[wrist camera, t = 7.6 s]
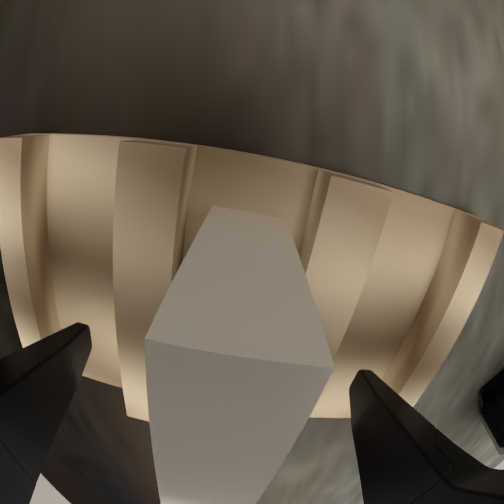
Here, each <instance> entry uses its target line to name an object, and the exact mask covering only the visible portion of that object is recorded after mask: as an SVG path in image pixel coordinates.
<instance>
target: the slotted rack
mask: <svg viewBox="0 0 504 504" xmlns="http://www.w3.org/2000/svg"><path fill="white" fill-rule="evenodd" d="M212 206H218V207H223V208H229V209H235V210H240V211H246V212H251V213H257V214H262V215H267V216H273V217H278V218H283V219H286V220H287V223H288V226H289V228H290V231H291V234H292V237H293V240H294V243H295V245H296V248H297V251H298V254H299V257H300V260H301V263H302V266H303V269H304V272H305V275H306V278H307V281H308V284H309V287H310V290H311V293H312V296H313V299H314V302H315V305H316V308H317V311H318V314H319V318H320V321H321V324H322V327H323V330H324V333H325V337H326V340H327V343H328V346H329V350H330V353H331V356H332V360H333V363H334V366H335V368H334V370H333V372H332V374H331V376H330V378H329V380H328V382H327V384H326V386H325V388H324V390H323V392H322V394H321V396H320V398H319V400H318V402H317V404H316V406H315V407H314V409H313V411H312V413H311V415H310V417H312V418H351V412H350V399H349V387H350V385H351V383H352V381H353V379H354V377H355V376H356V374H357V372H358V371H359V370H361V369H366V370H371V371H373V372H374V373H375V374H376V375H377V376H378V377H379V378H380V379H381V380H383V381H384V382H385V383H386V384H387V385H388V386H389V387H390V388H392V389H393V390H394V391H395V392H396V393H397V394H398V395H399V396H401V397H402V398H403V399H404V400H405V401H406V402H407V403H408V404H410V405H411V406H412V407H413V406H414V405H415V404H416V402H417V401H418V400H419V398H420V397H421V395H422V394H423V392H424V391H425V390H426V388H427V387H428V385H429V384H430V382H431V381H432V379H433V378H434V376H435V375H436V373H437V371H438V370H439V368H440V367H441V365H442V364H443V362H444V360H445V359H446V357H447V355H448V354H449V352H450V350H451V348H452V347H453V345H454V343H455V341H456V340H457V338H458V336H459V334H460V332H461V331H462V329H463V327H464V325H465V323H466V321H467V319H468V317H469V315H470V313H471V311H472V309H473V307H474V305H475V303H476V301H477V299H478V296H479V294H480V292H481V290H482V288H483V285H484V283H485V281H486V278H487V276H488V273H489V271H490V268H491V266H492V263H493V261H494V258H495V256H496V253H497V250H498V247H499V244H500V242H501V239H502V236H503V233H504V231H503V230H501V229H500V228H498V227H496V226H494V225H492V224H490V223H488V222H487V221H485V220H483V219H481V218H479V217H477V216H475V215H473V214H470V213H468V212H465V211H462V210H460V209H457V208H454V207H452V206H449V205H446V204H443V203H440V202H437V201H435V200H432V199H429V198H426V197H423V196H420V195H417V194H413V193H410V192H407V191H404V190H401V189H397V188H394V187H391V186H387V185H384V184H381V183H377V182H374V181H370V180H366V179H363V178H359V177H355V176H352V175H348V174H344V173H340V172H336V171H332V170H328V169H324V168H320V167H315V166H311V165H307V164H302V163H298V162H293V161H288V160H283V159H279V158H274V157H269V156H263V155H258V154H253V153H247V152H241V151H236V150H230V149H223V148H217V147H210V146H204V145H196V144H189V143H181V142H173V141H164V140H155V139H145V138H134V137H122V136H107V135H89V134H56V133H31V134H23V135H15V136H8V137H2V138H0V248H1V255H2V262H3V268H4V274H5V279H6V284H7V289H8V294H9V298H10V303H11V307H12V311H13V315H14V319H15V322H16V326H17V330H18V333H19V336H20V340H21V343H22V346H23V348H24V347H26V346H28V345H31V344H33V343H35V342H37V341H39V340H41V339H43V338H45V337H47V336H49V335H51V334H53V333H56V332H58V331H60V330H62V329H64V328H66V327H68V326H70V325H72V324H74V323H77V322H80V323H83V324H87V325H88V326H89V328H90V333H91V340H92V350H91V353H90V355H89V358H88V361H87V363H86V366H85V369H84V371H83V374H82V376H85V377H88V378H91V379H94V380H97V381H101V382H104V383H107V384H110V385H114V386H117V387H121V388H123V393H124V400H125V406H126V411H127V416H129V417H133V418H137V419H141V420H145V421H149V412H148V400H147V385H146V367H145V336H146V334H147V332H148V330H149V328H150V326H151V324H152V322H153V320H154V317H155V315H156V313H157V311H158V309H159V307H160V305H161V303H162V301H163V299H164V297H165V295H166V293H167V291H168V289H169V287H170V285H171V283H172V281H173V279H174V277H175V275H176V273H177V271H178V269H179V267H180V265H181V264H182V262H183V260H184V258H185V256H186V254H187V252H188V250H189V248H190V246H191V244H192V243H193V241H194V239H195V237H196V235H197V233H198V231H199V230H200V228H201V226H202V224H203V222H204V220H205V219H206V217H207V215H208V213H209V211H210V209H211V208H212Z"/></svg>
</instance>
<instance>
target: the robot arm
mask: <svg viewBox="0 0 504 504" xmlns="http://www.w3.org/2000/svg"><path fill="white" fill-rule="evenodd" d="M91 350H92V340H91V333H90V328H89V326H88V325H87V324H83V323H80V322H77V323H74V324H72V325H70V326H68V327H66V328H64V329H62V330H60V331H58V332H56V333H53V334H51V335H49V336H47V337H45V338H43V339H41V340H39V341H37V342H35V343H33V344H31V345H28V346H26V347H24V348H22V349H20V350H18V351H16V352H14V353H12V354H10V355H8V356H6V357H4V358H2V359H0V504H29V503H30V500H31V497H32V494H33V491H34V489H35V486H36V482H37V480H38V477H39V475H40V472H41V469H42V467H43V464H44V462H45V459H46V457H47V454H48V452H49V449H50V447H51V445H52V442H53V440H54V438H55V435H56V433H57V431H58V428H59V426H60V424H61V422H62V420H63V417H64V415H65V413H66V411H67V409H68V406H69V404H70V402H71V400H72V398H73V396H74V394H75V392H76V390H77V387H78V385H79V382H80V380H81V377H82V374H83V371H84V369H85V366H86V363H87V361H88V358H89V355H90V353H91ZM479 396H480V401H481V405H482V408H481V409H480V412H479V413H480V417H481V421H482V423H483V425H484V427H485V428H486V430H487V432H488V434H489V436H490V437H491V439H492V441H493V443H494V445H495V447H496V449H497V451H498V453H499V454H500V455H503V454H504V371H503V372H502V373H501V374H500V375H499V376H498V377H496V378H495V379H494V380H493V381H492V382H491V383H489V384H488V385H487V386H486V387H484V388H483V389H482V390H481V391H480V393H479ZM349 399H350V412H351V425H352V433H353V439H354V444H355V450H356V456H357V462H358V468H359V474H360V480H361V487H362V494H363V501H364V504H504V470H497V469H492V468H489V467H487V466H485V465H483V464H482V463H481V462H479V461H478V460H476V459H475V458H474V457H472V456H471V455H469V454H468V453H467V452H465V451H464V450H462V449H461V448H460V447H458V446H457V445H456V444H454V443H453V442H452V441H451V440H449V439H448V438H447V437H446V436H445V435H444V434H442V433H441V432H440V431H439V430H438V429H436V428H435V427H434V426H433V425H432V424H431V423H430V422H429V421H428V420H426V419H425V418H424V417H423V416H422V415H421V414H420V413H419V412H417V411H416V410H415V409H414V408H413V407H412V406H411V405H410V404H408V403H407V402H406V401H405V400H404V399H403V398H402V397H401V396H399V395H398V394H397V393H396V392H395V391H394V390H393V389H392V388H390V387H389V386H388V385H387V384H386V383H385V382H384V381H383V380H381V379H380V378H379V377H378V376H377V375H376V374H375V373H374V372H373V371H371V370H366V369H361V370H359V371H358V372H357V374H356V376H355V377H354V379H353V381H352V383H351V385H350V387H349Z"/></svg>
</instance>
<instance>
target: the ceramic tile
mask: <svg viewBox="0 0 504 504" xmlns="http://www.w3.org/2000/svg"><path fill="white" fill-rule="evenodd" d="M145 367H146V385H147V400H148V412H149V423H150V433H151V442H152V450H153V457H154V465H155V472H156V478H157V484H158V490H159V496H160V501H161V504H256V502H257V501H258V500H259V498H260V497H261V495H262V494H263V492H264V491H265V489H266V488H267V486H268V485H269V483H270V482H271V480H272V479H273V477H274V476H275V474H276V473H277V471H278V470H279V468H280V466H281V465H282V463H283V462H284V460H285V458H286V457H287V455H288V453H289V452H290V450H291V448H292V447H293V445H294V443H295V442H296V440H297V438H298V436H299V435H300V433H301V431H302V429H303V428H304V426H305V424H306V422H307V420H308V419H309V417H310V415H311V413H312V411H313V409H314V407H315V406H316V404H317V402H318V400H319V398H320V396H321V394H322V392H323V390H324V388H325V386H326V384H327V382H328V380H329V378H330V376H331V374H332V372H333V370H334V368H335V366H334V363H333V360H332V356H331V353H330V350H329V346H328V343H327V340H326V337H325V333H324V330H323V327H322V324H321V321H320V318H319V314H318V311H317V308H316V305H315V302H314V299H313V296H312V293H311V290H310V287H309V284H308V281H307V278H306V275H305V272H304V269H303V266H302V263H301V260H300V257H299V254H298V251H297V248H296V245H295V243H294V240H293V237H292V234H291V231H290V228H289V226H288V223H287V220H286V219H283V218H278V217H273V216H267V215H262V214H257V213H251V212H246V211H240V210H235V209H229V208H223V207H218V206H212V208H211V209H210V211H209V213H208V215H207V217H206V219H205V220H204V222H203V224H202V226H201V228H200V230H199V231H198V233H197V235H196V237H195V239H194V241H193V243H192V244H191V246H190V248H189V250H188V252H187V254H186V256H185V258H184V260H183V262H182V264H181V265H180V267H179V269H178V271H177V273H176V275H175V277H174V279H173V281H172V283H171V285H170V287H169V289H168V291H167V293H166V295H165V297H164V299H163V301H162V303H161V305H160V307H159V309H158V311H157V313H156V315H155V317H154V320H153V322H152V324H151V326H150V328H149V330H148V332H147V334H146V336H145Z"/></svg>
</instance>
